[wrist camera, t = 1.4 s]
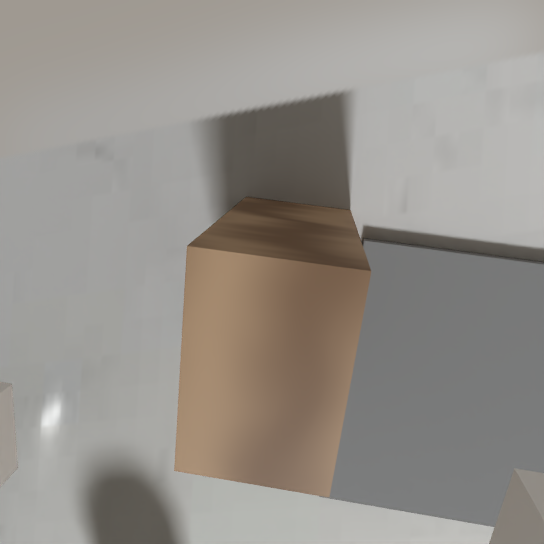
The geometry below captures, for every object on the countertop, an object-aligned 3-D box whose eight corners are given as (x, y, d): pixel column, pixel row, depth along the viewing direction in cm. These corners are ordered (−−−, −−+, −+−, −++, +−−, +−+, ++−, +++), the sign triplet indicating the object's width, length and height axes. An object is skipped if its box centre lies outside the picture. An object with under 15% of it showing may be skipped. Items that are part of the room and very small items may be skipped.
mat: (319, 490, 32) (319, 496, 31) (363, 238, 26) (364, 240, 26) (651, 547, 30) (657, 555, 30) (771, 292, 25) (782, 296, 24)
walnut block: (233, 337, 29) (174, 470, 18) (246, 196, 26) (186, 245, 15) (327, 351, 29) (329, 497, 17) (350, 210, 26) (371, 271, 14)
